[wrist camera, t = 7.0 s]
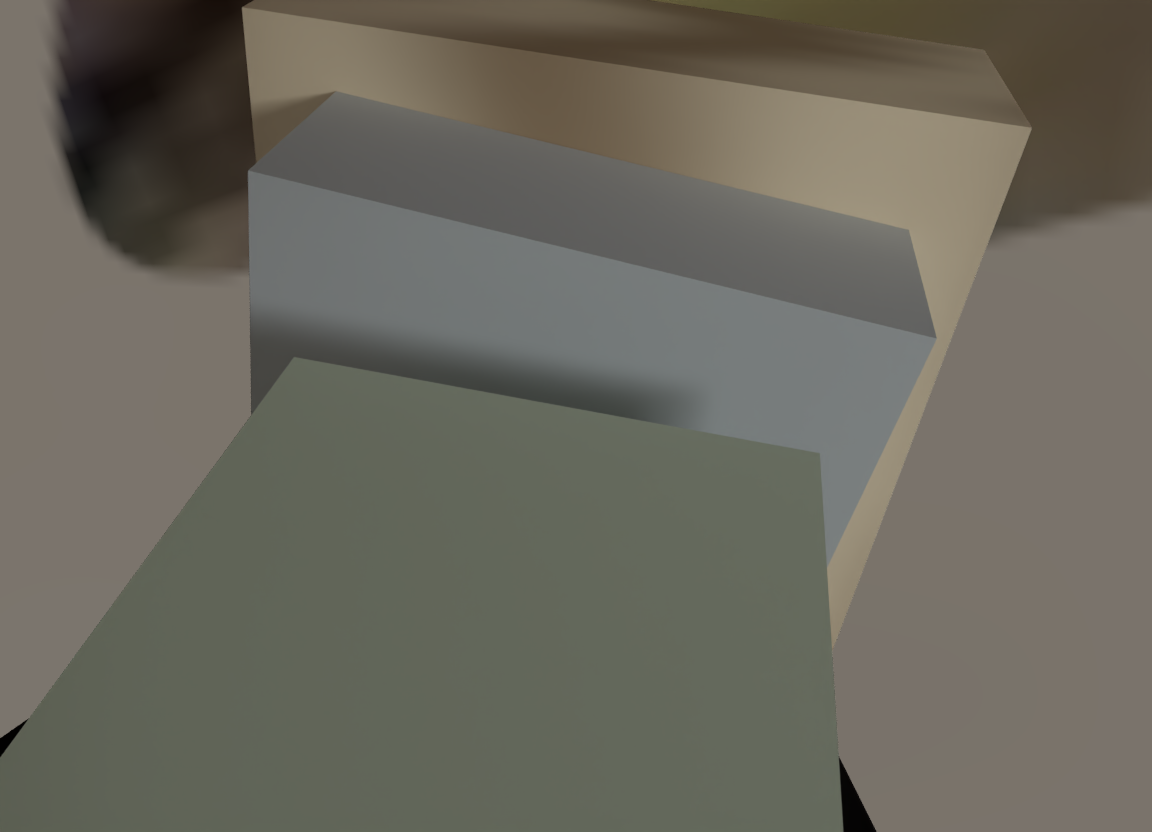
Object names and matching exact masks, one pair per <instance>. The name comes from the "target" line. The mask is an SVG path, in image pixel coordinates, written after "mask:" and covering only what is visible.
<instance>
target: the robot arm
mask: <svg viewBox="0 0 1152 832" xmlns="http://www.w3.org/2000/svg"><path fill="white" fill-rule="evenodd" d="M27 720H28V719H27ZM27 720H26V721H24V722H23V723H22V724H20V725H19V726H17V727H16V728H14V729H13V730H11V731H10V732H9V733H7V734H6V735H4V736H3V737H1V738H0V757H1V756H2V754H3V753H4V752H5V750H6V749H7V748H8V746H9V745H10V744H11V742H12V741H13V739H14V738H15V737H16V735H17V734H18V733H19V731H20V730H21V729H22V727H23V726H24V724H25V723H26V722H27ZM839 769H840V785H841V802H842V818H843V832H876V830H875V828H874V826H873V824H872V822H871V820H870V818H869V816H868V814H867V812H866V810H865V808H864V806H863V804H862V802H861V800H860V798H859V796H858V794H857V792H856V790H855V788H854V786H853V784H852V782H851V780H850V778H849V776H848V774H847V772H846V770H845V768H844V766H843V764H842V762H841V760H840V758H839Z"/></svg>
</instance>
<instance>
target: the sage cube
mask: <svg viewBox="0 0 1152 832" xmlns="http://www.w3.org/2000/svg"><path fill="white" fill-rule="evenodd" d="M837 738H838V737H837V722H836V706H835V690H834V674H833V657H832V641H831V625H830V609H829V593H828V576H827V560H826V544H825V528H824V512H823V496H822V480H821V464H820V453H816V452H810V451H805V450H799V449H794V448H788V447H783V446H777V445H772V444H766V443H761V442H755V441H750V440H745V439H739V438H734V437H728V436H723V435H717V434H712V433H706V432H701V431H695V430H690V429H685V428H679V427H674V426H668V425H663V424H657V423H652V422H646V421H641V420H635V419H630V418H625V417H619V416H614V415H608V414H603V413H597V412H592V411H586V410H581V409H575V408H570V407H564V406H559V405H554V404H548V403H543V402H537V401H532V400H526V399H521V398H515V397H510V396H504V395H499V394H494V393H488V392H483V391H477V390H472V389H466V388H461V387H455V386H450V385H444V384H439V383H434V382H428V381H423V380H417V379H412V378H406V377H401V376H395V375H390V374H384V373H379V372H374V371H368V370H363V369H357V368H352V367H346V366H341V365H335V364H330V363H324V362H319V361H313V360H308V359H303V358H297V357H294V358H293V359H292V360H291V362H290V363H289V365H288V366H287V367H286V369H285V370H284V371H283V373H282V374H281V375H280V377H279V378H278V380H277V381H276V382H275V384H274V385H273V386H272V388H271V389H270V390H269V392H268V393H267V395H266V396H265V397H264V399H263V400H262V401H261V403H260V404H259V405H258V407H257V408H256V410H255V411H254V412H253V414H252V415H251V416H250V418H249V419H248V420H247V422H246V423H245V425H244V426H243V427H242V429H241V430H240V431H239V433H238V434H237V436H236V437H235V438H234V440H233V441H232V442H231V444H230V445H229V446H228V448H227V449H226V450H225V452H224V453H223V455H222V456H221V457H220V459H219V460H218V461H217V463H216V464H215V466H214V467H213V468H212V470H211V471H210V472H209V474H208V475H207V477H206V478H205V479H204V480H203V482H202V483H201V485H200V486H199V487H198V489H197V490H196V491H195V493H194V494H193V495H192V497H191V498H190V500H189V501H188V502H187V504H186V505H185V506H184V508H183V509H182V511H181V512H180V513H179V515H178V516H177V517H176V519H175V520H174V521H173V523H172V524H171V525H170V527H169V528H168V530H167V531H166V532H165V534H164V535H163V536H162V538H161V539H160V541H159V542H158V543H157V545H156V546H155V547H154V549H153V550H152V551H151V553H150V554H149V555H148V557H147V558H146V560H145V561H144V562H143V564H142V565H141V566H140V568H139V569H138V570H137V572H136V573H135V575H134V576H133V577H132V579H131V580H130V581H129V583H128V584H127V585H126V587H125V588H124V590H123V591H122V592H121V594H120V595H119V597H118V598H117V599H116V601H115V602H114V603H113V605H112V606H111V607H110V609H109V610H108V612H107V613H106V614H105V615H104V617H103V618H102V620H101V621H100V622H99V624H98V625H97V626H96V628H95V629H94V630H93V632H92V633H91V634H90V636H89V637H88V639H87V640H86V641H85V643H84V644H83V645H82V647H81V648H80V650H79V651H78V652H77V654H76V655H75V656H74V658H73V659H72V660H71V662H70V663H69V664H68V666H67V667H66V669H65V670H64V671H63V673H62V674H61V675H60V677H59V678H58V680H57V681H56V682H55V684H54V685H53V686H52V688H51V689H50V690H49V692H48V693H47V694H46V696H45V697H44V699H43V700H42V701H41V703H40V704H39V705H38V707H37V708H36V709H35V711H34V712H33V714H32V715H31V716H30V718H29V719H28V720H27V722H26V723H25V724H24V726H23V727H22V729H21V730H20V731H19V733H18V734H17V735H16V737H15V738H14V739H13V741H12V742H11V744H10V745H9V746H8V748H7V749H6V750H5V752H4V753H3V754H2V756H1V757H0V832H843V818H842V802H841V785H840V769H839V753H838V739H837Z"/></svg>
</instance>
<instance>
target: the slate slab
mask: <svg viewBox="0 0 1152 832" xmlns="http://www.w3.org/2000/svg"><path fill="white" fill-rule="evenodd" d="M248 205H249V276H250V344H251V415H252V414H253V412H254V411H255V410H256V408H257V407H258V405H259V404H260V403H261V401H262V400H263V399H264V397H265V396H266V395H267V393H268V392H269V390H270V389H271V388H272V386H273V385H274V384H275V382H276V381H277V380H278V378H279V377H280V375H281V374H282V373H283V371H284V370H285V369H286V367H287V366H288V365H289V363H290V362H291V360H292V359H293V358H294V357H297V358H303V359H308V360H313V361H319V362H324V363H330V364H335V365H341V366H346V367H352V368H357V369H363V370H368V371H374V372H379V373H384V374H390V375H395V376H401V377H406V378H412V379H417V380H423V381H428V382H434V383H439V384H444V385H450V386H455V387H461V388H466V389H472V390H477V391H483V392H488V393H494V394H499V395H504V396H510V397H515V398H521V399H526V400H532V401H537V402H543V403H548V404H554V405H559V406H564V407H570V408H575V409H581V410H586V411H592V412H597V413H603V414H608V415H614V416H619V417H625V418H630V419H635V420H641V421H646V422H652V423H657V424H663V425H668V426H674V427H679V428H685V429H690V430H695V431H701V432H706V433H712V434H717V435H723V436H728V437H734V438H739V439H745V440H750V441H755V442H761V443H766V444H772V445H777V446H783V447H788V448H794V449H799V450H805V451H810V452H816V453H820V464H821V480H822V496H823V512H824V528H825V544H826V560H827V567H828V565H829V563H830V561H831V558H832V556H833V554H834V552H835V550H836V548H837V546H838V544H839V542H840V540H841V538H842V536H843V533H844V531H845V529H846V527H847V525H848V523H849V521H850V519H851V517H852V515H853V513H854V510H855V508H856V506H857V504H858V502H859V500H860V498H861V496H862V494H863V492H864V490H865V488H866V485H867V483H868V481H869V479H870V477H871V475H872V473H873V471H874V469H875V467H876V465H877V463H878V460H879V458H880V456H881V454H882V452H883V450H884V448H885V446H886V444H887V442H888V440H889V437H890V435H891V433H892V431H893V429H894V427H895V425H896V423H897V421H898V419H899V417H900V415H901V412H902V410H903V408H904V406H905V404H906V402H907V400H908V398H909V396H910V394H911V392H912V390H913V387H914V385H915V383H916V381H917V379H918V377H919V375H920V373H921V371H922V369H923V367H924V364H925V362H926V360H927V358H928V356H929V354H930V352H931V350H932V348H933V346H934V344H935V342H936V339H937V337H936V333H935V329H934V325H933V322H932V318H931V314H930V310H929V306H928V302H927V298H926V294H925V291H924V287H923V283H922V279H921V275H920V271H919V267H918V264H917V260H916V256H915V252H914V248H913V244H912V240H911V236H910V233H909V230H907V229H903V228H898V227H894V226H890V225H886V224H882V223H878V222H874V221H870V220H865V219H861V218H857V217H853V216H849V215H845V214H841V213H836V212H832V211H828V210H824V209H820V208H816V207H812V206H808V205H803V204H799V203H795V202H791V201H787V200H783V199H779V198H775V197H770V196H766V195H762V194H758V193H754V192H750V191H746V190H742V189H737V188H733V187H729V186H725V185H721V184H717V183H713V182H708V181H704V180H700V179H696V178H692V177H688V176H684V175H680V174H675V173H671V172H667V171H663V170H659V169H655V168H651V167H647V166H642V165H638V164H634V163H630V162H626V161H622V160H618V159H613V158H609V157H605V156H601V155H597V154H593V153H589V152H585V151H580V150H576V149H572V148H568V147H564V146H560V145H556V144H552V143H547V142H543V141H539V140H535V139H531V138H527V137H523V136H518V135H514V134H510V133H506V132H502V131H498V130H494V129H490V128H485V127H481V126H477V125H473V124H469V123H465V122H461V121H457V120H452V119H448V118H444V117H440V116H436V115H432V114H428V113H424V112H419V111H415V110H411V109H407V108H403V107H399V106H395V105H390V104H386V103H382V102H378V101H374V100H370V99H366V98H362V97H357V96H353V95H349V94H345V93H341V92H337V91H336V92H335V93H334V94H332V95H331V96H330V97H329V98H328V99H327V100H326V101H325V102H324V103H322V104H321V105H320V106H319V107H318V108H317V109H316V110H315V111H314V112H312V113H311V114H310V115H309V116H308V117H307V118H306V119H305V120H304V121H302V122H301V123H300V124H299V125H298V126H297V127H296V128H295V129H294V130H292V131H291V132H290V133H289V134H288V135H287V136H286V137H285V138H284V139H282V140H281V141H280V142H279V143H278V144H277V145H276V146H275V147H274V148H272V149H271V150H270V151H269V152H268V153H267V154H266V155H265V156H264V157H262V158H261V159H260V160H259V161H258V162H257V163H256V164H255V165H254V166H252V167H251V168H250V169H249V170H248Z"/></svg>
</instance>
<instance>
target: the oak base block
mask: <svg viewBox="0 0 1152 832" xmlns="http://www.w3.org/2000/svg"><path fill="white" fill-rule="evenodd" d="M242 15H243V26H244V37H245V48H246V59H247V69H248V80H249V91H250V102H251V113H252V124H253V135H254V146H255V156H256V163H257V162H258V161H259V160H260V159H261V158H262V157H264V156H265V155H266V154H267V153H268V152H269V151H270V150H271V149H272V148H274V147H275V146H276V145H277V144H278V143H279V142H280V141H281V140H282V139H284V138H285V137H286V136H287V135H288V134H289V133H290V132H291V131H292V130H294V129H295V128H296V127H297V126H298V125H299V124H300V123H301V122H302V121H304V120H305V119H306V118H307V117H308V116H309V115H310V114H311V113H312V112H314V111H315V110H316V109H317V108H318V107H319V106H320V105H321V104H322V103H324V102H325V101H326V100H327V99H328V98H329V97H330V96H331V95H332V94H334V93H335V92H336V91H337V92H341V93H345V94H349V95H353V96H357V97H362V98H366V99H370V100H374V101H378V102H382V103H386V104H390V105H395V106H399V107H403V108H407V109H411V110H415V111H419V112H424V113H428V114H432V115H436V116H440V117H444V118H448V119H452V120H457V121H461V122H465V123H469V124H473V125H477V126H481V127H485V128H490V129H494V130H498V131H502V132H506V133H510V134H514V135H518V136H523V137H527V138H531V139H535V140H539V141H543V142H547V143H552V144H556V145H560V146H564V147H568V148H572V149H576V150H580V151H585V152H589V153H593V154H597V155H601V156H605V157H609V158H613V159H618V160H622V161H626V162H630V163H634V164H638V165H642V166H647V167H651V168H655V169H659V170H663V171H667V172H671V173H675V174H680V175H684V176H688V177H692V178H696V179H700V180H704V181H708V182H713V183H717V184H721V185H725V186H729V187H733V188H737V189H742V190H746V191H750V192H754V193H758V194H762V195H766V196H770V197H775V198H779V199H783V200H787V201H791V202H795V203H799V204H803V205H808V206H812V207H816V208H820V209H824V210H828V211H832V212H836V213H841V214H845V215H849V216H853V217H857V218H861V219H865V220H870V221H874V222H878V223H882V224H886V225H890V226H894V227H898V228H903V229H907V230H909V233H910V236H911V240H912V244H913V248H914V252H915V256H916V260H917V264H918V267H919V271H920V275H921V279H922V283H923V287H924V291H925V294H926V298H927V302H928V306H929V310H930V314H931V318H932V322H933V325H934V329H935V333H936V337H937V339H936V342H935V344H934V346H933V348H932V350H931V352H930V354H929V356H928V358H927V360H926V362H925V364H924V367H923V369H922V371H921V373H920V375H919V377H918V379H917V381H916V383H915V385H914V387H913V390H912V392H911V394H910V396H909V398H908V400H907V402H906V404H905V406H904V408H903V410H902V412H901V415H900V417H899V419H898V421H897V423H896V425H895V427H894V429H893V431H892V433H891V435H890V437H889V440H888V442H887V444H886V446H885V448H884V450H883V452H882V454H881V456H880V458H879V460H878V463H877V465H876V467H875V469H874V471H873V473H872V475H871V477H870V479H869V481H868V483H867V485H866V488H865V490H864V492H863V494H862V496H861V498H860V500H859V502H858V504H857V506H856V508H855V510H854V513H853V515H852V517H851V519H850V521H849V523H848V525H847V527H846V529H845V531H844V533H843V536H842V538H841V540H840V542H839V544H838V546H837V548H836V550H835V552H834V554H833V556H832V558H831V561H830V563H829V565H828V567H827V576H828V593H829V609H830V625H831V641H832V650H833V648H834V645H835V642H836V640H837V637H838V635H839V632H840V629H841V626H842V624H843V621H844V619H845V616H846V614H847V611H848V608H849V606H850V603H851V600H852V598H853V595H854V593H855V590H856V587H857V585H858V582H859V580H860V577H861V574H862V572H863V569H864V566H865V564H866V561H867V559H868V556H869V553H870V551H871V548H872V546H873V543H874V540H875V538H876V535H877V532H878V529H879V527H880V524H881V522H882V519H883V517H884V514H885V511H886V509H887V506H888V503H889V501H890V498H891V496H892V493H893V490H894V487H895V485H896V483H897V480H898V477H899V475H900V472H901V470H902V467H903V464H904V462H905V459H906V456H907V454H908V451H909V448H910V446H911V443H912V441H913V438H914V435H915V433H916V430H917V427H918V425H919V422H920V420H921V417H922V414H923V411H924V409H925V406H926V404H927V401H928V399H929V396H930V393H931V391H932V388H933V386H934V383H935V380H936V378H937V375H938V373H939V370H940V367H941V365H942V362H943V359H944V357H945V354H946V352H947V349H948V346H949V344H950V341H951V339H952V336H953V333H954V331H955V328H956V325H957V323H958V320H959V317H960V315H961V312H962V310H963V307H964V304H965V302H966V299H967V296H968V294H969V291H970V289H971V286H972V283H973V281H974V278H975V276H976V273H977V270H978V268H979V265H980V263H981V260H982V257H983V255H984V252H985V249H986V247H987V244H988V242H989V239H990V236H991V234H992V231H993V229H994V226H995V223H996V221H997V218H998V215H999V213H1000V210H1001V208H1002V205H1003V202H1004V200H1005V197H1006V194H1007V192H1008V189H1009V187H1010V184H1011V181H1012V179H1013V176H1014V173H1015V171H1016V168H1017V166H1018V163H1019V160H1020V158H1021V155H1022V153H1023V150H1024V147H1025V145H1026V142H1027V139H1028V137H1029V134H1030V132H1031V129H1032V127H1031V126H1030V124H1029V122H1028V121H1027V119H1026V118H1025V116H1024V114H1023V113H1022V111H1021V109H1020V108H1019V106H1018V104H1017V103H1016V101H1015V100H1014V98H1013V96H1012V95H1011V93H1010V91H1009V90H1008V88H1007V87H1006V85H1005V83H1004V82H1003V80H1002V78H1001V77H1000V75H999V74H998V72H997V70H996V69H995V67H994V65H993V64H992V62H991V60H990V59H989V57H988V56H987V54H986V52H985V51H984V50H981V49H975V48H968V47H961V46H954V45H948V44H941V43H934V42H927V41H921V40H914V39H907V38H900V37H894V36H887V35H880V34H873V33H867V32H860V31H853V30H846V29H840V28H833V27H826V26H820V25H813V24H806V23H799V22H793V21H786V20H779V19H772V18H766V17H759V16H752V15H745V14H739V13H732V12H725V11H718V10H712V9H705V8H698V7H691V6H685V5H678V4H671V3H664V2H658V1H651V0H254V1H252V2H250V3H248V4H247V5H245V6H243V7H242Z"/></svg>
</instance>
